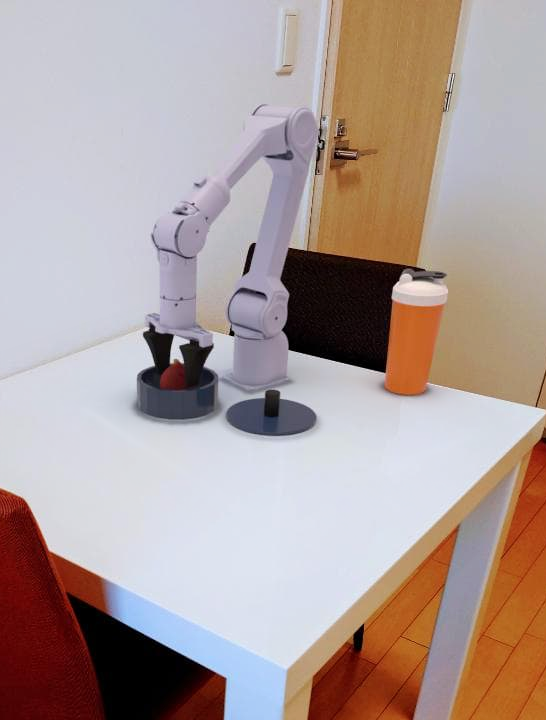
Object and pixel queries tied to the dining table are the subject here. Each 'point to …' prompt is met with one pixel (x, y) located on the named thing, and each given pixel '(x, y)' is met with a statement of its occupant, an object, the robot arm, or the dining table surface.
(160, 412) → the pot
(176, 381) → the onion
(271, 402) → the lid
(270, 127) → the robot arm
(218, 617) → the dining table surface
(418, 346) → the shaker bottle
